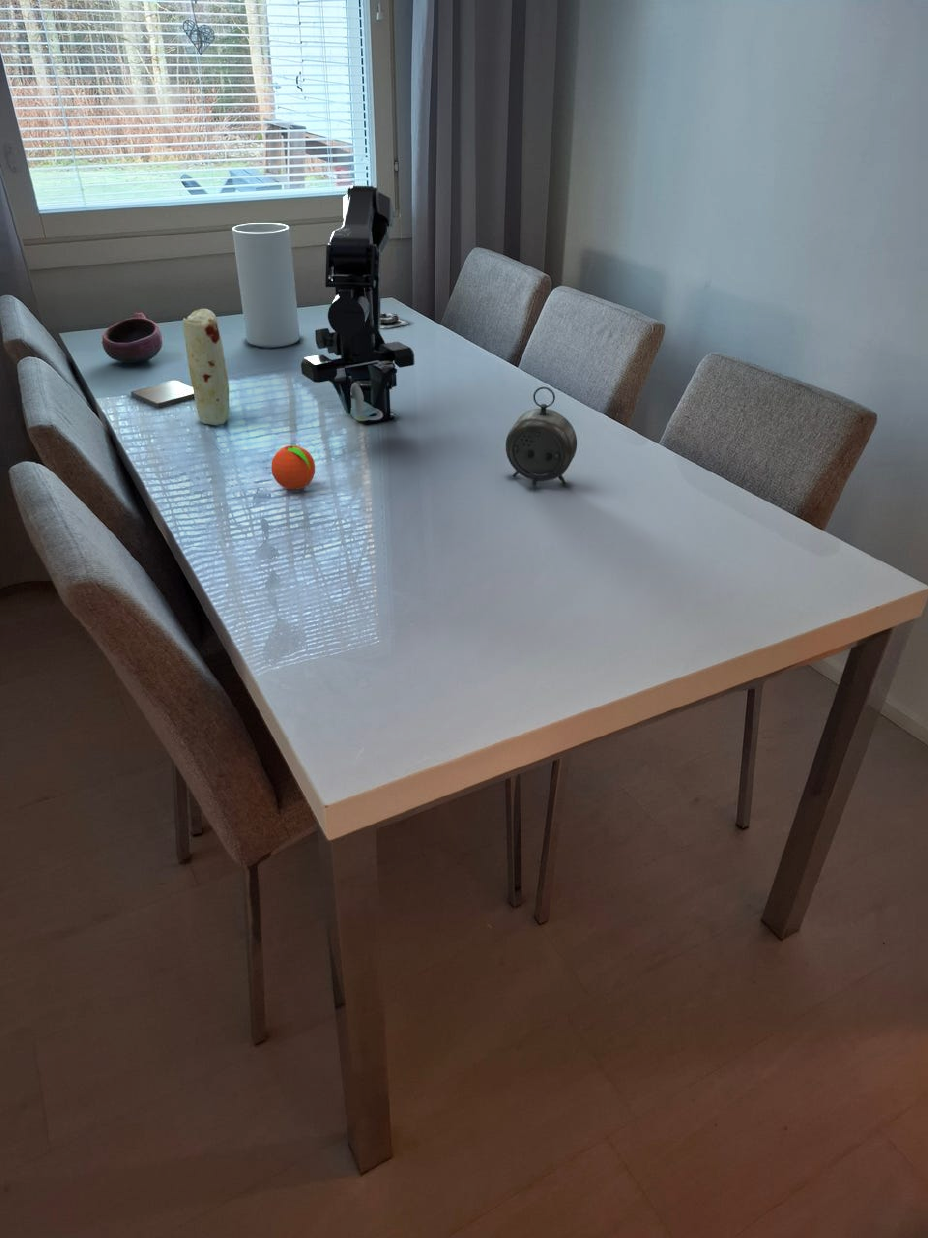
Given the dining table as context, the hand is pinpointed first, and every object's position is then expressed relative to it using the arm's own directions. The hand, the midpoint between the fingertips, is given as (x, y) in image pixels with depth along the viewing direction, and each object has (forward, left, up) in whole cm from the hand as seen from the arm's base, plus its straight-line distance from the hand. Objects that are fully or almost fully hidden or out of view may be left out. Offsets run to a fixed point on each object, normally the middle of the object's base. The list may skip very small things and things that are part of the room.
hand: (361, 410), depth 150 cm
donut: (-42, -69, -7) cm, 81 cm away
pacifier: (-1, 0, -1) cm, 2 cm away
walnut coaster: (+22, -44, -7) cm, 50 cm away
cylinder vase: (-11, -69, -7) cm, 70 cm away
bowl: (+21, -72, -7) cm, 75 cm away
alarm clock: (-17, +29, -7) cm, 34 cm away
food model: (+18, -26, -7) cm, 32 cm away
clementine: (+17, +10, -7) cm, 21 cm away
